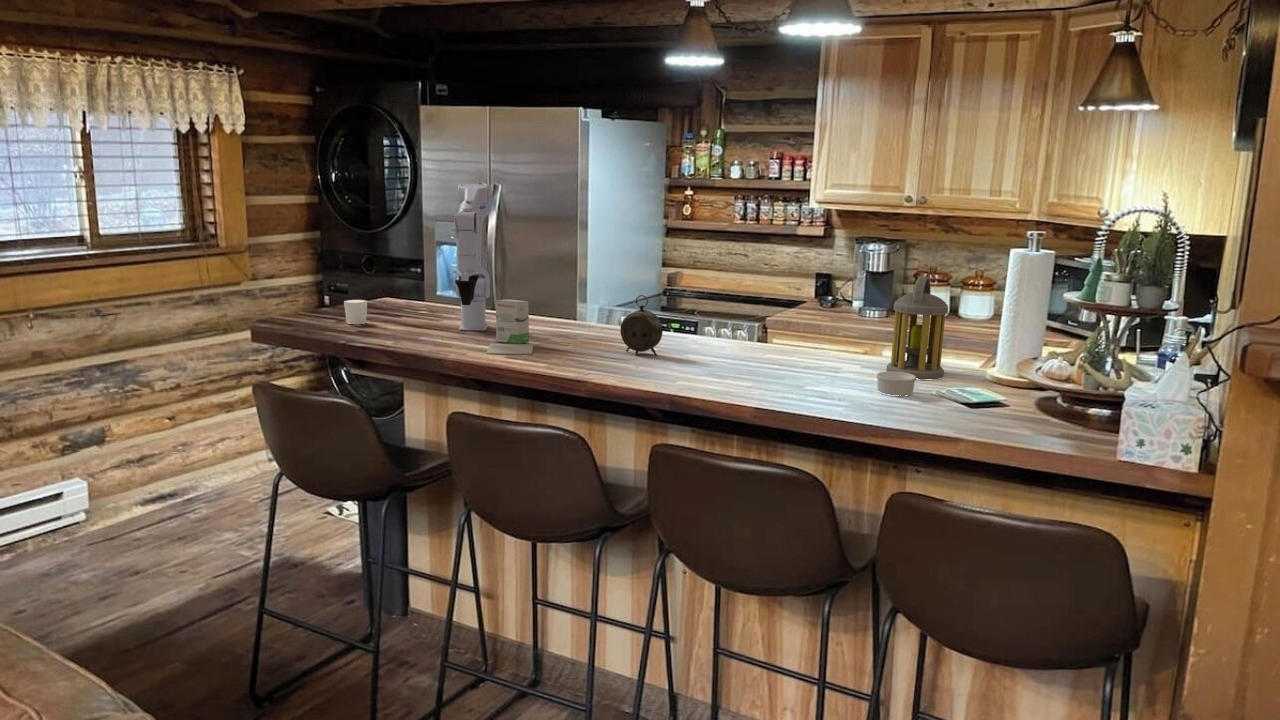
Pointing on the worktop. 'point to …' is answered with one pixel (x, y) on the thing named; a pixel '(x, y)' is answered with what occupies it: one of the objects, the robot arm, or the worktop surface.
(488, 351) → the mat
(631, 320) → the alarm clock
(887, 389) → the ramekin
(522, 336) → the ink box
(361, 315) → the white cup
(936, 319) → the lantern
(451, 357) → the worktop surface
